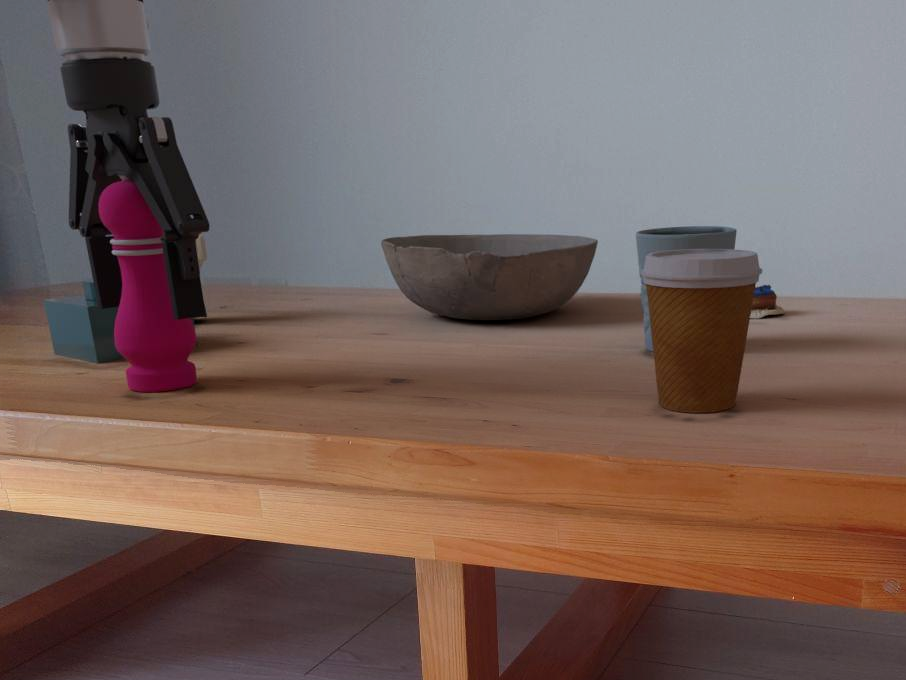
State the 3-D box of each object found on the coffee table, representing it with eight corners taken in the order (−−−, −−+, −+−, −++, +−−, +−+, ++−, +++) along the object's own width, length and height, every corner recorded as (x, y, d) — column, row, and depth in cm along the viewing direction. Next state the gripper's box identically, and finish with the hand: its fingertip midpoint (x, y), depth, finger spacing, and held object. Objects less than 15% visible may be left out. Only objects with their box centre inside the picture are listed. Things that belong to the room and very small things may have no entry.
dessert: (749, 314, 122) (736, 270, 123) (719, 340, 127) (707, 298, 129) (800, 313, 125) (787, 271, 127) (769, 338, 131) (756, 298, 132)
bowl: (347, 327, 126) (339, 244, 122) (449, 297, 149) (445, 227, 146) (550, 336, 116) (548, 245, 112) (625, 302, 139) (625, 227, 136)
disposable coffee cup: (780, 406, 82) (789, 253, 78) (690, 424, 77) (695, 262, 73) (702, 386, 89) (706, 246, 85) (616, 402, 85) (616, 254, 80)
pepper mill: (109, 387, 96) (68, 162, 89) (179, 374, 101) (145, 160, 94) (145, 397, 91) (105, 161, 84) (217, 383, 96) (184, 159, 89)
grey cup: (751, 348, 106) (757, 228, 101) (674, 360, 101) (677, 235, 96) (690, 335, 114) (693, 224, 109) (616, 345, 109) (616, 230, 105)
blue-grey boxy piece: (97, 363, 107) (83, 287, 104) (54, 354, 113) (39, 281, 111) (197, 346, 116) (187, 274, 113) (152, 338, 122) (141, 270, 119)
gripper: (227, 48, 81) (263, 315, 89) (79, 72, 96) (120, 298, 104) (141, 44, 76) (187, 328, 83) (-2, 69, 91) (48, 308, 99)
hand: (150, 312), depth 94 cm, fingers open, 13 cm apart
